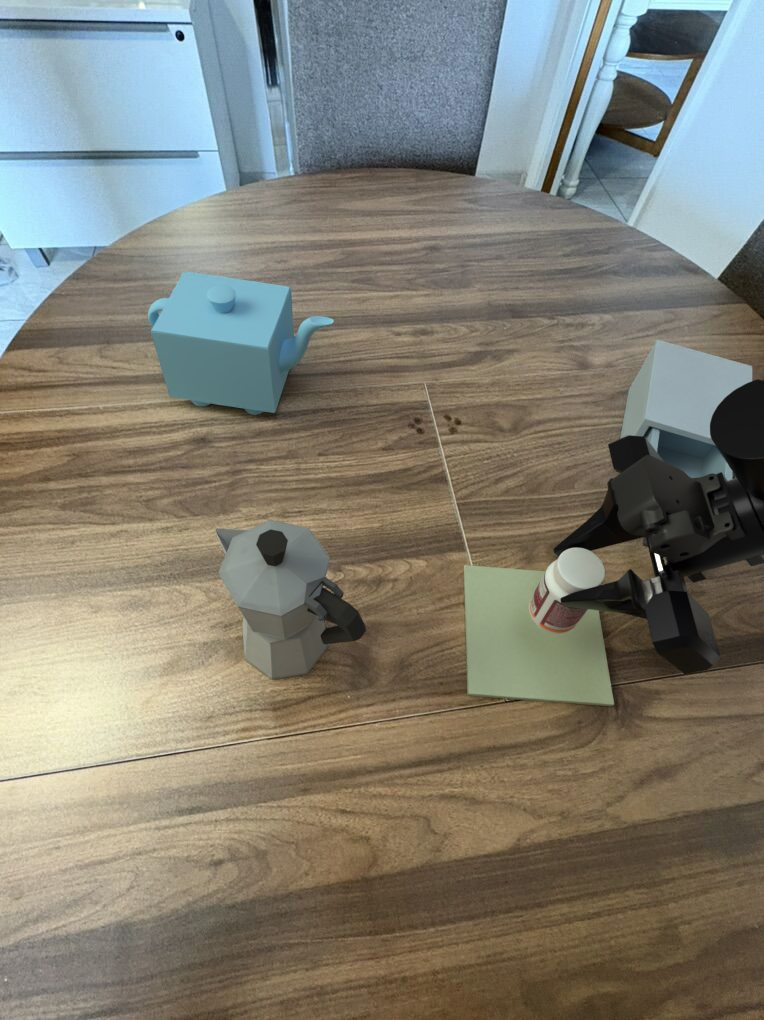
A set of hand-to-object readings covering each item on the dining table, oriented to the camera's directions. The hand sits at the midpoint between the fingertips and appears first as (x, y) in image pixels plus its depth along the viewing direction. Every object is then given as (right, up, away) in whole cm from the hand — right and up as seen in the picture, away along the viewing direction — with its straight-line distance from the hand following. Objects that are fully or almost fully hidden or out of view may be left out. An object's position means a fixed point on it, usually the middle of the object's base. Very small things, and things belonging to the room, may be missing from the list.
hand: (559, 576), depth 52 cm
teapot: (-32, +22, +27) cm, 48 cm away
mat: (0, -7, +10) cm, 12 cm away
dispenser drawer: (+18, +6, +19) cm, 27 cm away
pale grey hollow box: (+22, +15, +27) cm, 38 cm away
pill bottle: (+1, -4, +6) cm, 7 cm away
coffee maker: (-24, -7, +8) cm, 26 cm away
